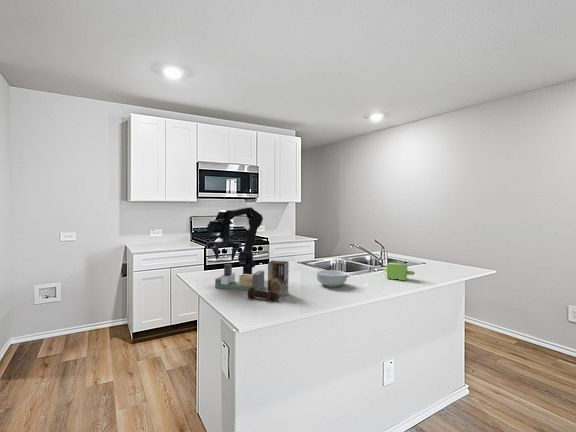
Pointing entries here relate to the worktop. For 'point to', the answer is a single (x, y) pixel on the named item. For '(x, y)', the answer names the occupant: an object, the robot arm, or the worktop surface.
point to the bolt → (262, 294)
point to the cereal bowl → (331, 277)
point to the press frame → (257, 284)
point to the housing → (246, 280)
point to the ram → (227, 275)
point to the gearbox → (397, 271)
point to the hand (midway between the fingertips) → (224, 259)
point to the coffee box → (278, 277)
